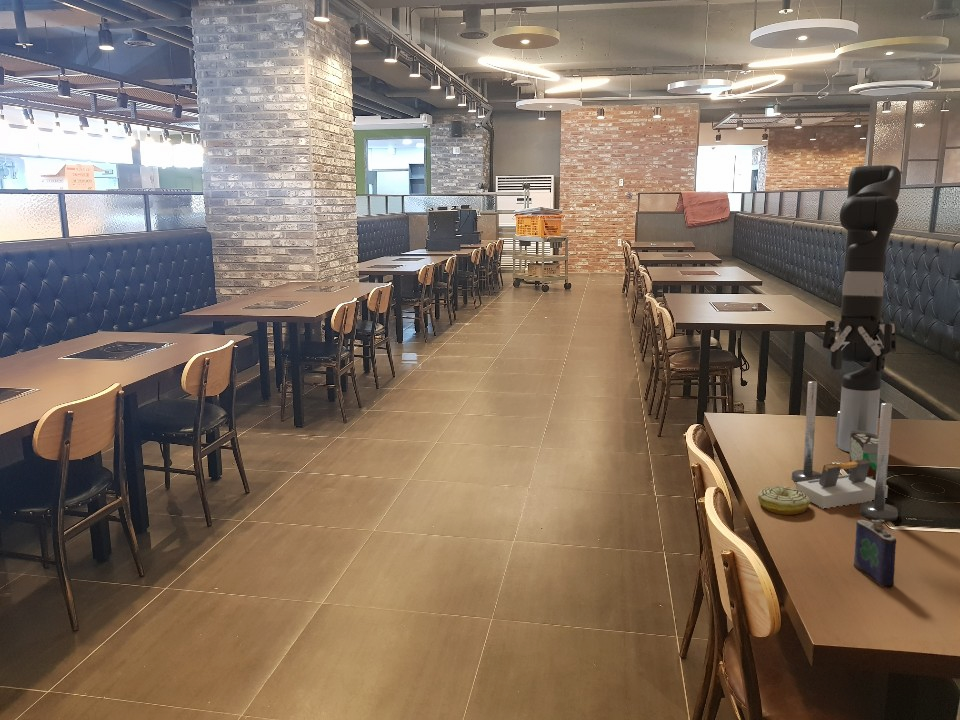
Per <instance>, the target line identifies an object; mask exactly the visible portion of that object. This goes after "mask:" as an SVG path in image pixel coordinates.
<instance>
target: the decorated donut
mask: <svg viewBox="0 0 960 720" xmlns="http://www.w3.org/2000/svg"><path fill="white" fill-rule="evenodd" d="M757 494H758V496H757V500H758V502H759V504H760V506H761V507H762V508H763V509H764V510H765V511H768V512H771V513H773V514H777V515H783V516H793V515H798V513H799V514H803V513H804V512H806V511H807V509H808V508H809V505H810V504H811V502H810V499H809V497H808V496H807V495H806V494H805V493H803V492H802V491H799V490H797V489H796V488H794V487H791V486H787V485H780V486H779V485H778V486H769V487H765V488H763V489H761V490H760V491H759V492H758V493H757Z"/></svg>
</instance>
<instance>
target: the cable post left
mask: <svg viewBox="0 0 960 720" xmlns="http://www.w3.org/2000/svg"><path fill="white" fill-rule="evenodd" d="M806 390H807V392H806V393H807V394H806V395H807V396H806V409H805V410H806V413H805V429H804V430H805V432H804V434H805V435H804V450H803V451H804V452H803V456H804V457H803V468H802V469H797V470H794V471H792V472H791V480H793V481H794V483H795V482H802V481H809V480H815V479H820V478H821V474H822V472H819V471H815V470H813V467H814V466H813V465H814V451H815V449H814V447H815V429H816V415H817V414H816V410H817V393H818V381H814V380H809V381H807V389H806ZM793 481H792V482H793Z"/></svg>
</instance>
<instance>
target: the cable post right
mask: <svg viewBox="0 0 960 720" xmlns="http://www.w3.org/2000/svg"><path fill="white" fill-rule="evenodd" d="M892 411H893V403H891V402H881V403H880V414H879V415H880V416H879V430H878V435H879V441H878V455H877V469H876V482H875V496H874V501H870V502H864V503H860V506H859V507H860V508H859V510H860V511H859V513H860V515H861V516H862V517H864V518H866V519H868V520H879V521H880V519H881V520H884V522H885V523H887V522H894V521H896V520H897V519H898V516H899V515H898V512H899V510H898V508H897V507H895V506H893V505H891V504H887V503H886V499H885V494H886V485H887V480H888V479H887V477H888V466H889V464H888V463H889V450H890V437H891V424H892V423H891V422H892ZM884 522H883V523H884Z"/></svg>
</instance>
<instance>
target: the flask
mask: <svg viewBox="0 0 960 720" xmlns="http://www.w3.org/2000/svg"><path fill="white" fill-rule="evenodd" d="M870 520H871V519H870ZM882 523H884V520H881V519H880V521H879V520H871V521H868V520H866V519H865V520H864V519H859V520H856V523H855V529H856V530H855V541H854V557H853V566H854V568H855V569H856V570H858V571H860V572H861V573H862V574H863V575H864V576H866V577H868V578H870V579H871V581H875V584H877V585H879V586H880V587H882V588H885V589H887V590H888V589H893V588H894V587H895V582H894V581H895V571H896V570H895V562H896V561H895V560H896V547H897V546H896V545H897V538H896V537H895V536H893V535H892V534H891V532H889V531H887V530H886V527H885V525H883V524H882Z"/></svg>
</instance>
